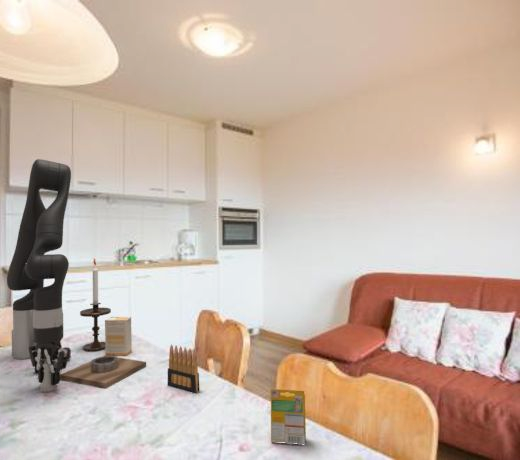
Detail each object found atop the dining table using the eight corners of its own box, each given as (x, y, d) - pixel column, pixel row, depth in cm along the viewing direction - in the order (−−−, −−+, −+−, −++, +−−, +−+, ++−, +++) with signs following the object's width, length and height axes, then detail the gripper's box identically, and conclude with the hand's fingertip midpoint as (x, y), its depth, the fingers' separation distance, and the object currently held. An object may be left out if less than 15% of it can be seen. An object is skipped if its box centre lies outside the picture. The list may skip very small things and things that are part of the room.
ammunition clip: (199, 391, 103) (199, 348, 103) (195, 393, 102) (195, 350, 102) (171, 383, 109) (171, 343, 109) (167, 385, 107) (166, 344, 107)
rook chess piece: (61, 387, 107) (61, 359, 107) (48, 393, 103) (47, 365, 103) (50, 384, 108) (49, 357, 108) (36, 391, 104) (36, 363, 104)
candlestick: (96, 353, 135) (95, 259, 135) (73, 350, 139) (72, 258, 139) (117, 345, 145) (116, 256, 145) (96, 342, 149) (95, 256, 149)
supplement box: (132, 351, 137) (132, 316, 137) (126, 355, 133) (126, 319, 133) (111, 350, 138) (111, 316, 138) (104, 355, 133) (104, 319, 133)
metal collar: (85, 370, 115) (85, 362, 115) (104, 362, 122) (104, 354, 122) (105, 374, 112) (105, 366, 112) (123, 365, 120) (123, 357, 120)
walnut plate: (59, 379, 112) (59, 374, 112) (104, 359, 129) (104, 355, 129) (105, 388, 106) (105, 383, 106) (146, 366, 122) (146, 361, 122)
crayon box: (305, 438, 80) (305, 385, 80) (305, 446, 77) (304, 391, 77) (272, 435, 81) (272, 383, 81) (270, 443, 78) (270, 389, 78)
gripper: (18, 324, 104) (19, 384, 105) (54, 329, 99) (55, 392, 99) (42, 318, 111) (43, 374, 112) (77, 322, 106) (78, 381, 106)
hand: (49, 382), depth 105 cm, fingers closed on rook chess piece, 4 cm apart
